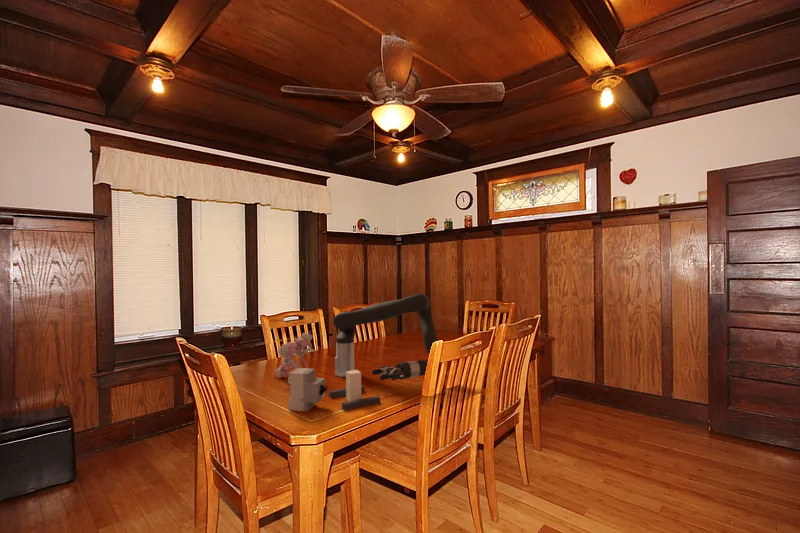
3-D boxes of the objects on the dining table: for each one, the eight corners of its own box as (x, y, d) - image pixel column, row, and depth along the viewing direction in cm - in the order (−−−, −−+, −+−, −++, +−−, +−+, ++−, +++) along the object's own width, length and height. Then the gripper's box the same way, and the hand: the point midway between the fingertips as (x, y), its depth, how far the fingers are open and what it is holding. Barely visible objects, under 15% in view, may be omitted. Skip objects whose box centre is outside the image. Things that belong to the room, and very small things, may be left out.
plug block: (357, 396, 170) (356, 369, 170) (361, 400, 165) (361, 372, 165) (346, 398, 167) (345, 371, 167) (350, 402, 163) (350, 374, 163)
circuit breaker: (321, 412, 153) (321, 374, 152) (288, 410, 155) (288, 372, 155) (329, 405, 160) (328, 369, 160) (297, 403, 163) (296, 367, 163)
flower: (305, 365, 219) (285, 327, 211) (331, 367, 204) (311, 327, 197) (278, 389, 204) (256, 350, 197) (304, 393, 190) (281, 351, 183)
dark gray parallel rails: (362, 390, 178) (362, 385, 178) (380, 403, 162) (380, 397, 162) (328, 396, 171) (328, 391, 171) (344, 410, 154) (343, 404, 154)
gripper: (400, 358, 186) (369, 362, 178) (415, 365, 173) (383, 370, 165) (400, 374, 186) (369, 379, 178) (415, 382, 173) (383, 387, 166)
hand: (376, 374), depth 172 cm, fingers open, 8 cm apart
